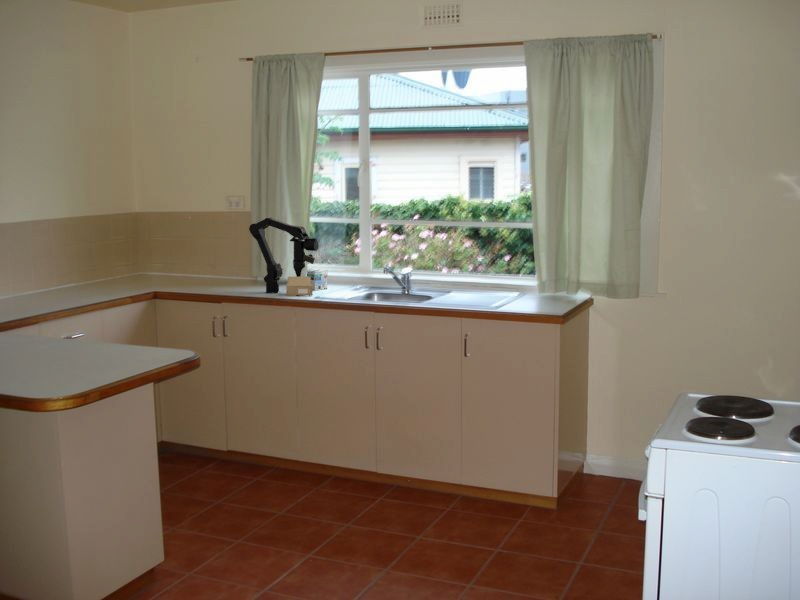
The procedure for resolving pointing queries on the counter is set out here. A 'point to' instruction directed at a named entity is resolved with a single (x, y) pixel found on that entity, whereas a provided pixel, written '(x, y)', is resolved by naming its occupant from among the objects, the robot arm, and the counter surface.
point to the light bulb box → (318, 278)
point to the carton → (299, 290)
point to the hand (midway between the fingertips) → (298, 279)
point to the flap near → (299, 281)
